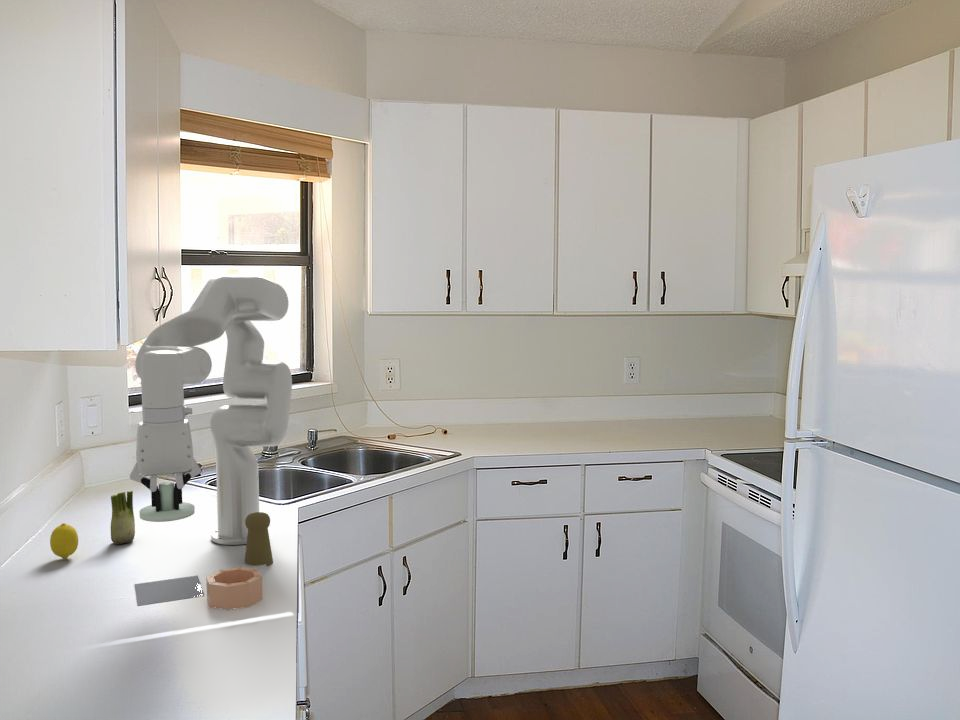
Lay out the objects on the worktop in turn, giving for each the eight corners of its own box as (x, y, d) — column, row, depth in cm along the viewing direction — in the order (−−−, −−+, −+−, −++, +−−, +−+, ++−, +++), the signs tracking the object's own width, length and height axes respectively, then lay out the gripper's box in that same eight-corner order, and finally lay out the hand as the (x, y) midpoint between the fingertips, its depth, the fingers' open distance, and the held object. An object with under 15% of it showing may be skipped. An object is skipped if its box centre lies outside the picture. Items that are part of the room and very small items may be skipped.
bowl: (205, 597, 163) (204, 571, 162) (256, 589, 167) (255, 564, 166) (211, 615, 154) (211, 588, 154) (265, 606, 158) (264, 581, 158)
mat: (134, 587, 168) (134, 584, 168) (197, 578, 173) (197, 575, 173) (137, 608, 157) (137, 605, 157) (204, 598, 162) (204, 595, 162)
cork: (244, 569, 178) (242, 518, 177) (244, 559, 184) (242, 510, 183) (273, 566, 180) (272, 516, 179) (272, 557, 186) (271, 508, 184)
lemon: (71, 553, 188) (70, 518, 187) (83, 558, 185) (82, 522, 184) (46, 559, 184) (44, 523, 183) (58, 565, 180) (56, 528, 180)
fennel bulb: (133, 537, 199) (131, 488, 198) (139, 543, 195) (137, 492, 194) (107, 542, 196) (105, 491, 195) (112, 547, 192) (110, 496, 191)
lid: (138, 510, 166) (136, 480, 165) (191, 504, 170) (190, 475, 169) (141, 524, 157) (139, 493, 156) (197, 517, 161) (196, 487, 160)
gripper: (205, 409, 168) (208, 499, 170) (116, 415, 161) (121, 508, 163) (210, 415, 161) (213, 509, 163) (117, 421, 155) (122, 519, 157)
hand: (167, 508), depth 163 cm, fingers closed on lid, 2 cm apart
